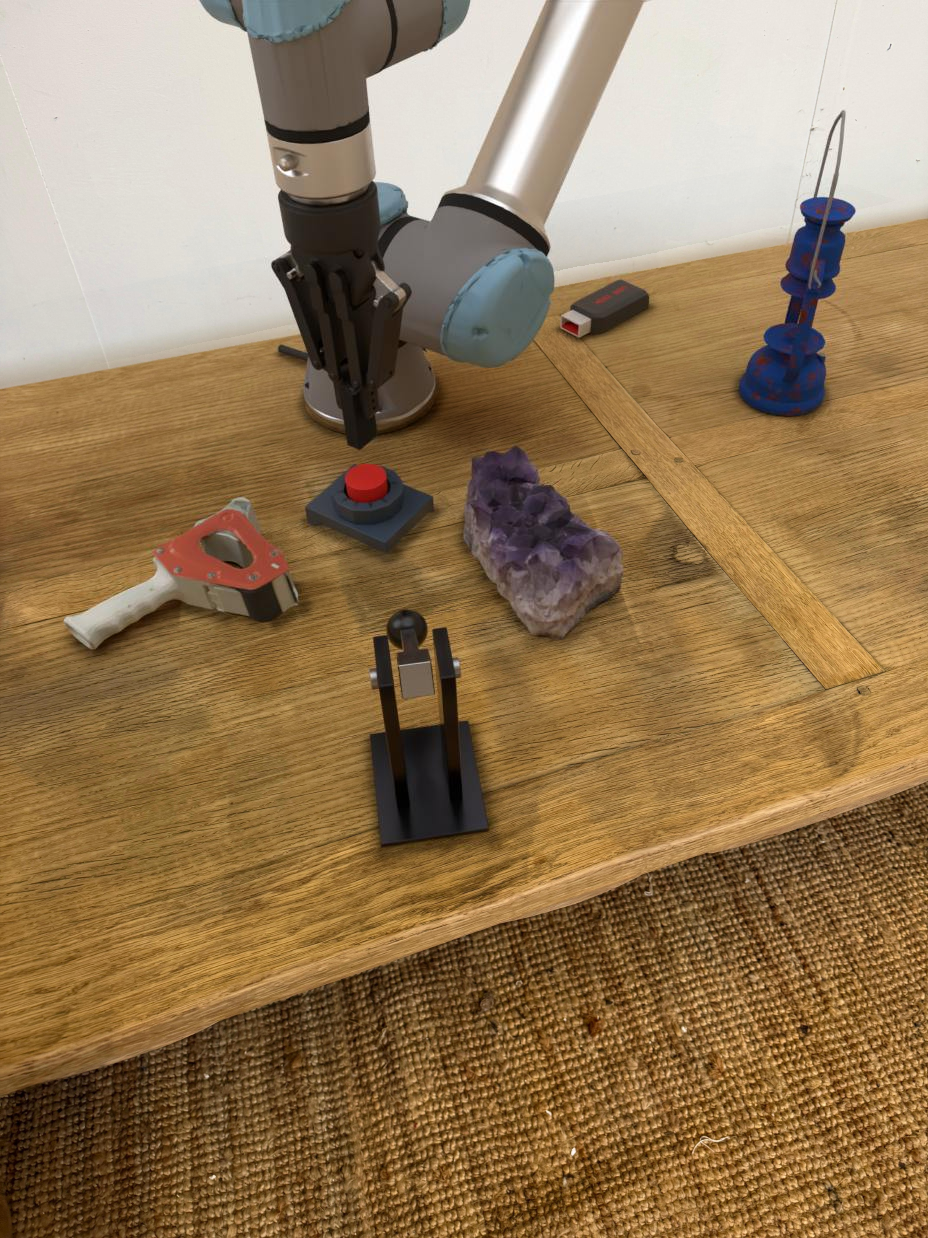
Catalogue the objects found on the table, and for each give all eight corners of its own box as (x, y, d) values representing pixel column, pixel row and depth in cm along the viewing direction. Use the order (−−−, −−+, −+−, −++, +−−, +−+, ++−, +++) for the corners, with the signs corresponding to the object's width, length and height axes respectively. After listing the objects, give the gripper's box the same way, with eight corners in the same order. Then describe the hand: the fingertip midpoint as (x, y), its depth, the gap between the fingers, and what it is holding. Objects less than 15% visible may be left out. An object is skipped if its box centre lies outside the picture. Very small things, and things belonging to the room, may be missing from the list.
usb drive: (648, 307, 121) (651, 287, 119) (584, 342, 116) (586, 322, 114) (618, 293, 124) (620, 273, 122) (554, 326, 118) (555, 306, 116)
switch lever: (388, 645, 74) (383, 607, 73) (428, 640, 74) (423, 601, 73) (395, 706, 62) (389, 661, 61) (443, 699, 62) (438, 654, 61)
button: (338, 494, 92) (336, 480, 90) (363, 472, 94) (361, 458, 92) (371, 508, 90) (369, 494, 89) (396, 486, 92) (394, 471, 91)
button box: (307, 523, 94) (301, 492, 91) (356, 480, 99) (352, 449, 96) (387, 559, 90) (383, 528, 87) (434, 512, 95) (432, 481, 92)
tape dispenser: (69, 662, 85) (277, 678, 81) (43, 624, 81) (260, 640, 77) (143, 526, 96) (330, 535, 92) (124, 487, 92) (318, 494, 88)
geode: (418, 531, 93) (422, 443, 86) (516, 504, 98) (526, 418, 91) (529, 659, 80) (544, 568, 74) (636, 620, 85) (658, 531, 78)
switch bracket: (371, 742, 76) (347, 609, 64) (468, 728, 76) (462, 594, 65) (382, 852, 69) (358, 725, 58) (489, 836, 70) (486, 707, 58)
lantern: (825, 423, 103) (913, 135, 81) (738, 415, 104) (801, 130, 82) (820, 370, 110) (900, 91, 88) (738, 363, 111) (796, 87, 89)
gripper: (228, 185, 71) (283, 439, 88) (364, 223, 66) (395, 485, 83) (292, 149, 75) (333, 399, 92) (426, 183, 70) (442, 440, 87)
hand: (362, 439), depth 88 cm, fingers closed
